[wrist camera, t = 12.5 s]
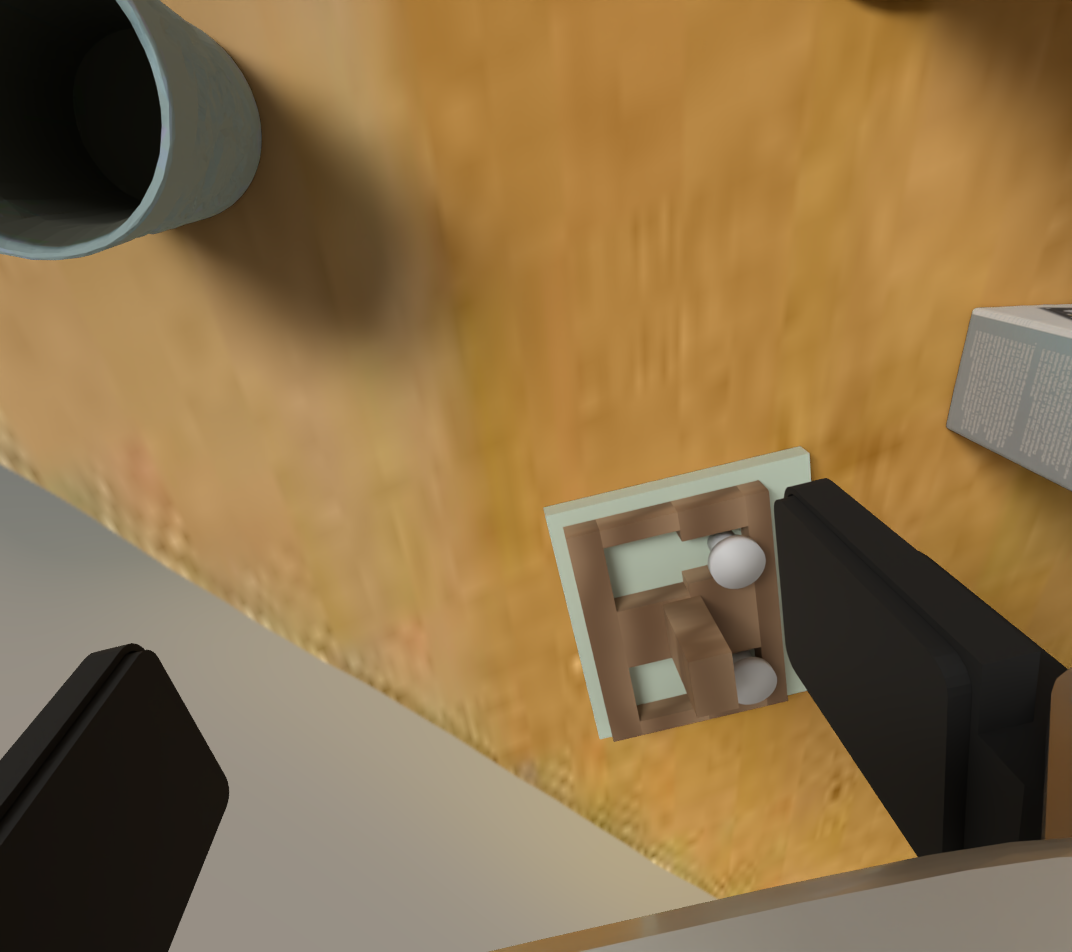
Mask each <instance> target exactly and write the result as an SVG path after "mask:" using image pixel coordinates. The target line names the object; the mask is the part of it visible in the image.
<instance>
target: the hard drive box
mask: <svg viewBox="0 0 1072 952" xmlns="http://www.w3.org/2000/svg"><path fill="white" fill-rule="evenodd" d="M946 427H947V428H948V429H950V430H952V431H954V432H956V433H958V434H960V435H962V436H964V437H965V438H967V439H969V440H971V441H973V442H975V443H977V444H979V445H981V446H983V447H985V448H987V449H989V450H991V451H993V452H995V453H997V454H999V455H1001V456H1003V457H1005V458H1007V459H1009V460H1011V461H1013V462H1015V463H1017V464H1019V465H1020V466H1022V467H1024V468H1026V469H1028V470H1030V471H1032V472H1034V473H1036V474H1038V475H1040V476H1042V477H1044V478H1046V479H1048V480H1050V481H1052V482H1054V483H1056V484H1058V485H1060V486H1062V487H1064V488H1066V489H1068V490H1070V491H1072V304H1059V305H1034V306H1008V307H986V308H975V309H974V310H973V311H972V315H971V319H970V323H969V328H968V332H967V337H966V341H965V345H964V349H963V354H962V358H961V362H960V366H959V371H958V375H957V379H956V384H955V388H954V392H953V397H952V402H951V406H950V411H949V415H948V419H947V426H946Z"/></svg>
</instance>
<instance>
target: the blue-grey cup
mask: <svg viewBox="0 0 1072 952" xmlns="http://www.w3.org/2000/svg"><path fill="white" fill-rule="evenodd" d="M261 145H262V134H261V123H260V117H259V112H258V108H257V105H256V102H255V99H254V97H253V94H252V91H251V89H250V87H249V85H248V83H247V81H246V79H245V77H244V75H243V73H242V72H241V71H240V69H239V68H238V66H237V65H236V64H235V62H234V61H233V59H232V58H231V57H230V56H229V55H228V53H227V52H226V51H225V50H224V49H223V48H222V47H221V46H220V45H219V44H217V43H216V42H215V41H214V40H213V39H212V38H211V37H209V36H208V35H207V34H205V33H204V32H203V31H201V30H200V29H198V28H197V27H195V26H194V25H192V24H190V23H189V22H187V21H185V20H184V19H183V18H181V17H180V16H179V15H178V14H176V13H175V12H174V11H172V10H171V9H170V8H169V7H167V6H166V5H165V4H163V3H162V2H161V1H160V0H0V254H5V255H10V256H15V257H21V258H26V259H31V260H62V259H71V258H79V257H84V256H88V255H92V254H95V253H98V252H100V251H103V250H106V249H109V248H112V247H114V246H117V245H120V244H123V243H125V242H128V241H131V240H133V239H135V238H138V237H142V236H145V235H147V234H156V233H160V232H163V231H166V230H168V229H174V228H177V227H179V226H182V225H184V224H188V223H192V222H196V221H199V220H202V219H206V218H209V217H212V216H214V215H216V214H219V213H221V212H222V211H224V210H225V209H227V208H229V207H230V206H232V205H233V204H234V203H235V202H236V201H237V200H238V199H239V198H240V197H241V196H242V195H243V194H244V192H245V191H246V190H247V188H248V187H249V185H250V183H251V182H252V180H253V177H254V175H255V173H256V171H257V167H258V164H259V160H260V154H261Z"/></svg>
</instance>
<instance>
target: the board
mask: <svg viewBox="0 0 1072 952" xmlns="http://www.w3.org/2000/svg"><path fill="white" fill-rule="evenodd" d="M757 480H759V481H760V482H761V483H762V484H763V485H764V486H765V487H766V488H767V489H768V490H769V497H770V508H771V519H772V530H773V541H774V552H775V563H776V574H777V585H778V596H779V607H780V618H781V629H782V640H783V651H784V662H785V673H786V684H787V695H791V694H795V693H799V692H804V691H807V689H806V688H805V686H804V685H803V683H802V682H801V680H800V679H799V677H798V676H797V674H796V673H795V671H794V669H793V668H792V665H791V663H790V661H789V658H788V655H787V651H786V645H785V634H784V623H783V611H782V600H781V588H780V577H779V565H778V554H777V542H776V531H775V519H774V502H775V501H776V500H778V499H782V498H784V493H785V490H786V488H787V487H790V486H794V485H798V484H803V483H807V482H811V471H810V454H809V453H808V452H807V451H806V450H805V449H803V448H802V447H801V446H799V447H795V448H791V449H787V450H782V451H778V452H774V453H770V454H766V455H761V456H757V457H753V458H749V459H745V460H740V461H736V462H732V463H728V464H724V465H720V466H715V467H711V468H707V469H703V470H699V471H694V472H690V473H686V474H682V475H678V476H673V477H669V478H665V479H661V480H657V481H653V482H648V483H644V484H640V485H636V486H632V487H627V488H623V489H619V490H615V491H611V492H606V493H602V494H598V495H594V496H590V497H586V498H581V499H577V500H573V501H569V502H565V503H560V504H556V505H552V506H548V507H544V512H545V517H546V521H547V525H548V529H549V533H550V537H551V541H552V546H553V550H554V554H555V558H556V562H557V566H558V570H559V574H560V578H561V582H562V586H563V591H564V595H565V599H566V603H567V607H568V611H569V615H570V619H571V623H572V627H573V631H574V636H575V640H576V644H577V648H578V652H579V656H580V660H581V664H582V668H583V672H584V676H585V681H586V685H587V689H588V693H589V697H590V701H591V705H592V709H593V713H594V717H595V721H596V725H597V730H598V734H599V738H600V739H603V738H608V737H612V733H611V729H610V725H609V721H608V716H607V712H606V708H605V704H604V699H603V695H602V691H601V687H600V683H599V678H598V674H597V670H596V666H595V661H594V657H593V653H592V649H591V644H590V640H589V636H588V632H587V628H586V623H585V619H584V615H583V611H582V606H581V602H580V598H579V594H578V589H577V585H576V581H575V577H574V573H573V568H572V564H571V560H570V556H569V551H568V547H567V543H566V539H565V534H564V530H563V527H565V526H569V525H574V524H578V523H582V522H586V521H590V520H594V519H599V518H603V517H607V516H611V515H615V514H619V513H624V512H628V511H632V510H636V509H640V508H644V507H649V506H653V505H657V504H661V503H665V502H669V501H674V500H678V499H682V498H686V497H690V496H694V495H699V494H703V493H707V492H711V491H715V490H719V489H724V488H728V487H732V486H736V485H740V484H744V483H749V482H753V481H757ZM604 554H605V559H606V564H607V568H608V573H609V578H610V582H611V587H612V592H613V597H614V598H617V597H621V596H625V595H629V594H634V593H638V592H642V591H646V590H650V589H655V588H659V587H663V586H667V585H671V584H676V583H680V582H683V578H682V571H684V570H688V569H692V568H697V567H701V566H705V565H708V569H709V571H710V573H711V575H712V576H713V578H714V580H715V581H716V582H717V583H718V584H719V585H721V586H723V587H725V588H729V589H739V588H743V587H746V586H748V585H750V584H752V583H753V582H755V581H756V580H757V579H758V578H759V577H760V575H761V574H762V572H763V570H764V568H765V563H766V558H765V554H764V552H763V550H762V549H761V548H760V546H759V545H758V544H757V543H756V542H755V541H754V540H753V539H752V538H750V537H747V536H744V535H741V528H738V529H734V530H730V531H725V532H721V533H717V534H713V535H709V536H704V537H700V538H696V539H692V540H688V541H684V542H682V541H681V539H680V538H679V536H678V534H677V533H676V531H675V532H671V533H666V534H662V535H658V536H654V537H650V538H646V539H641V540H637V541H633V542H629V543H625V544H620V545H616V546H612V547H608V548H604ZM732 657H733V665H734V673H735V680H736V688H737V696H738V703H740V704H745V705H750V704H756V703H759V702H761V701H763V700H765V699H766V698H768V697H769V696H770V695H771V694H772V693H773V691H774V690H775V688H776V685H777V676H776V674H775V672H774V670H773V669H772V667H771V665H770V664H769V663H768V662H767V661H766V660H764V659H762V658H759V657H755V651H754V649H750V650H746V651H741V652H737V653H733V654H732ZM629 672H630V677H631V682H632V687H633V691H634V696H635V701H636V705H641V704H645V703H649V702H653V701H658V700H662V699H666V698H670V697H674V696H679V695H683V694H687V692H686V690H685V688H684V685H683V683H682V680H681V678H680V676H679V673H678V671H677V669H676V666H675V664H674V662H673V659H672V658H669V659H665V660H661V661H657V662H652V663H648V664H644V665H640V666H636V667H631V668H629Z"/></svg>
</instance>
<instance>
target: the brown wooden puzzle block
mask: <svg viewBox="0 0 1072 952" xmlns="http://www.w3.org/2000/svg"><path fill="white" fill-rule="evenodd" d="M738 528H741V535H744V536H747V537H750V538H752V539H753V540H754V541H755V542H756V543H757V544H758V545H759V546H760V548H761V549H762V550H763V552H764V554H765V558H766V563H765V568H764V570H763V572H762V574H761V575H760V577H759V578H758V579H757V580H756V581H755V582H753V583H752V584H750V585H748V586H746V587H743V588H739V589H729V588H725V587H723V586H721V585H719V584H718V583H717V582H716V581H715V580H714V578H713V576H712V575H711V573H710V571H709V569H708V565H705V566H701V567H697V568H692V569H688V570H684V571H682V578H683V582H680V583H676V584H671V585H667V586H663V587H659V588H655V589H650V590H646V591H642V592H638V593H634V594H629V595H625V596H621V597H617V598H614V597H613V592H612V587H611V582H610V578H609V573H608V568H607V564H606V559H605V554H604V548H608V547H612V546H616V545H620V544H625V543H629V542H633V541H637V540H641V539H646V538H650V537H654V536H658V535H662V534H666V533H671V532H675V531H676V533H677V534H678V536H679V538H680V539H681V541H682V542H684V541H688V540H692V539H696V538H700V537H704V536H709V535H713V534H717V533H721V532H725V531H730V530H734V529H738ZM563 530H564V534H565V539H566V543H567V547H568V551H569V556H570V560H571V564H572V568H573V573H574V577H575V581H576V585H577V589H578V594H579V598H580V602H581V606H582V611H583V615H584V619H585V623H586V628H587V632H588V636H589V640H590V644H591V649H592V653H593V657H594V661H595V666H596V670H597V674H598V678H599V683H600V687H601V691H602V695H603V699H604V704H605V708H606V712H607V716H608V721H609V725H610V729H611V733H612V737H613V741H614V742H615V741H620V740H624V739H628V738H632V737H637V736H641V735H645V734H649V733H653V732H658V731H662V730H666V729H670V728H675V727H679V726H683V725H687V724H692V723H696V722H700V721H704V720H709V719H713V718H717V717H721V716H725V715H730V714H734V713H738V712H742V711H747V710H751V709H755V708H759V707H764V706H768V705H772V704H776V703H780V702H785V701H788V695H787V684H786V673H785V662H784V651H783V640H782V629H781V618H780V607H779V596H778V585H777V574H776V563H775V552H774V541H773V530H772V519H771V508H770V497H769V490H768V489H767V488H766V487H765V486H764V485H763V484H762V483H761V482H760V481H759V480H757V481H753V482H749V483H744V484H740V485H736V486H732V487H728V488H724V489H719V490H715V491H711V492H707V493H703V494H699V495H694V496H690V497H686V498H682V499H678V500H674V501H669V502H665V503H661V504H657V505H653V506H649V507H644V508H640V509H636V510H632V511H628V512H624V513H619V514H615V515H611V516H607V517H603V518H599V519H594V520H590V521H586V522H582V523H578V524H574V525H569V526H565V527H563ZM750 649H754V651H755V657H759V658H762V659H764V660H766V661H767V662H768V663H769V664H770V665H771V667H772V669H773V670H774V672H775V674H776V676H777V685H776V688H775V690H774V691H773V693H772V694H771V695H770V696H769V697H768V698H766V699H765V700H763V701H761V702H759V703H756V704H750V705H745V704H740V703H738V696H737V688H736V680H735V673H734V665H733V657H732V654H733V653H737V652H741V651H746V650H750ZM669 658H672V659H673V662H674V664H675V666H676V669H677V671H678V673H679V676H680V678H681V680H682V683H683V685H684V688H685V690H686V692H687V694H683V695H679V696H674V697H670V698H666V699H662V700H658V701H653V702H649V703H645V704H641V705H636V701H635V696H634V691H633V687H632V682H631V677H630V672H629V668H631V667H636V666H640V665H644V664H648V663H652V662H657V661H661V660H665V659H669Z"/></svg>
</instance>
